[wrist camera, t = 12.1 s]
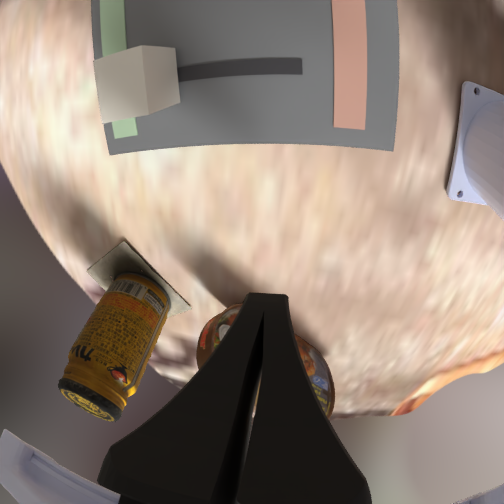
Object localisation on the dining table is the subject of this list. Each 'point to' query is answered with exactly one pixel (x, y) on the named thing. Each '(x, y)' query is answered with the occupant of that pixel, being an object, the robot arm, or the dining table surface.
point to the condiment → (118, 334)
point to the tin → (309, 355)
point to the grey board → (261, 71)
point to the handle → (136, 82)
